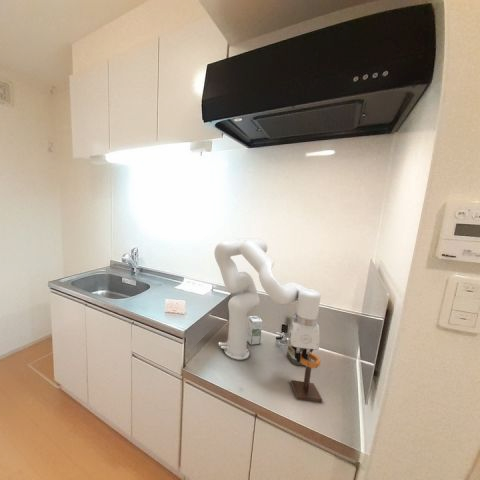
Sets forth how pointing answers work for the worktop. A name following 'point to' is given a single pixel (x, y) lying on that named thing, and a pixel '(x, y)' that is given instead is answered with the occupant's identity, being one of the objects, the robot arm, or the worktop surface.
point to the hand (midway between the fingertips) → (300, 360)
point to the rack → (306, 388)
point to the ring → (310, 363)
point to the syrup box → (254, 330)
